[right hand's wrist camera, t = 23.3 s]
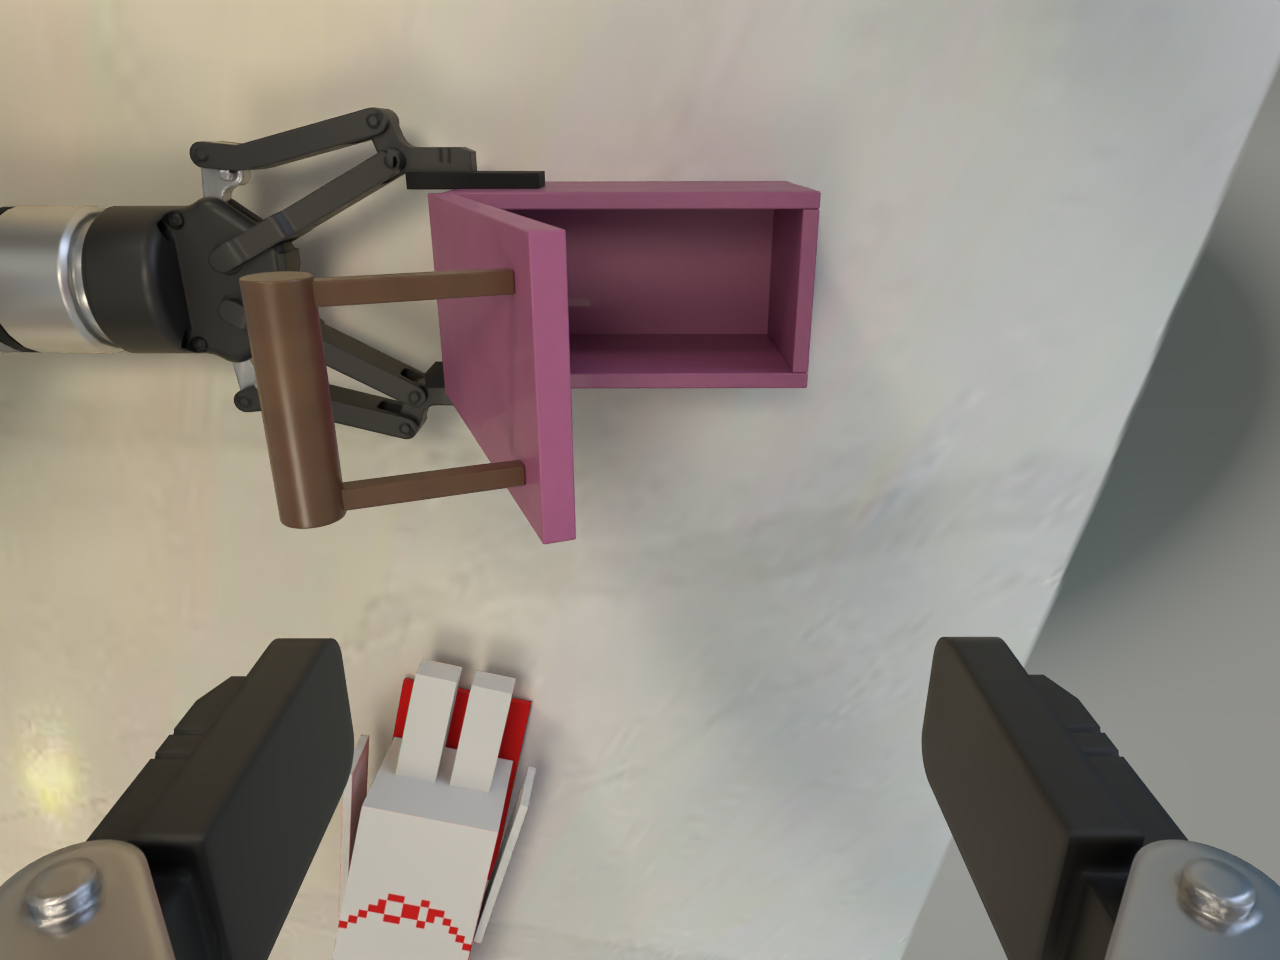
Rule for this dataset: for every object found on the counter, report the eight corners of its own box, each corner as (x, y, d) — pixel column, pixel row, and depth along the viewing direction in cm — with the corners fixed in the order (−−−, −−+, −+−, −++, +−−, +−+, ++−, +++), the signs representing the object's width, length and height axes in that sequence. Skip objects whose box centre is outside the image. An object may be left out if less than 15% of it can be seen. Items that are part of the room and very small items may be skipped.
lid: (566, 229, 23) (226, 243, 21) (576, 539, 27) (286, 587, 24) (451, 192, 39) (250, 197, 36) (467, 390, 43) (284, 409, 40)
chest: (786, 181, 49) (821, 191, 40) (777, 343, 52) (807, 388, 43) (480, 182, 49) (442, 192, 40) (491, 344, 52) (458, 388, 43)
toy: (548, 739, 52) (452, 1126, 58) (561, 644, 65) (482, 969, 71) (346, 698, 51) (273, 1096, 57) (401, 610, 64) (336, 943, 70)
